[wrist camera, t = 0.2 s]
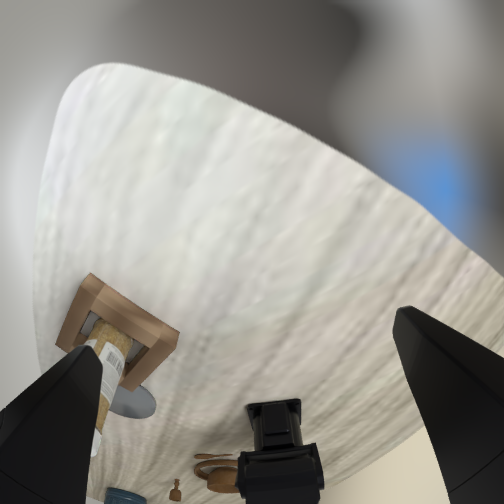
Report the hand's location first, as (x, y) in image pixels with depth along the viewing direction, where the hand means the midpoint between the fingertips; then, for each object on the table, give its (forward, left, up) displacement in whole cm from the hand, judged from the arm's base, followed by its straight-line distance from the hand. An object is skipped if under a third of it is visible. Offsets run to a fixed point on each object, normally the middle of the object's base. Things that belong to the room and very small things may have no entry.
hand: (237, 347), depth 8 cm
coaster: (-23, +18, -15) cm, 33 cm away
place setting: (-49, +14, -16) cm, 53 cm away
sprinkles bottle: (-12, +14, -15) cm, 24 cm away
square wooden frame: (-12, +14, -15) cm, 24 cm away
